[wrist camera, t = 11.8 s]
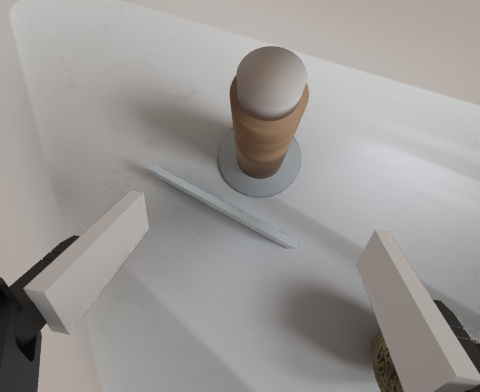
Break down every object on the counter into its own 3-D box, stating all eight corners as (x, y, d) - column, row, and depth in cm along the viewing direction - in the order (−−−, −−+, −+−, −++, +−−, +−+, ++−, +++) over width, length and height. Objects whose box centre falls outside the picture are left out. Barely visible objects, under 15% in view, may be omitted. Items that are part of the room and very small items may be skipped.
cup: (337, 314, 21) (390, 353, 13) (413, 299, 21) (510, 328, 14) (362, 407, 20) (439, 514, 12) (445, 390, 20) (576, 484, 12)
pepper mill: (290, 148, 25) (329, 59, 13) (269, 187, 24) (291, 129, 12) (250, 128, 25) (253, 27, 14) (228, 165, 24) (211, 91, 13)
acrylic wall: (289, 243, 23) (299, 242, 19) (287, 248, 23) (295, 248, 19) (166, 175, 25) (151, 162, 21) (163, 180, 25) (147, 167, 21)
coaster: (314, 142, 25) (314, 140, 25) (277, 212, 24) (277, 212, 23) (243, 108, 26) (243, 107, 26) (203, 173, 25) (203, 172, 24)
